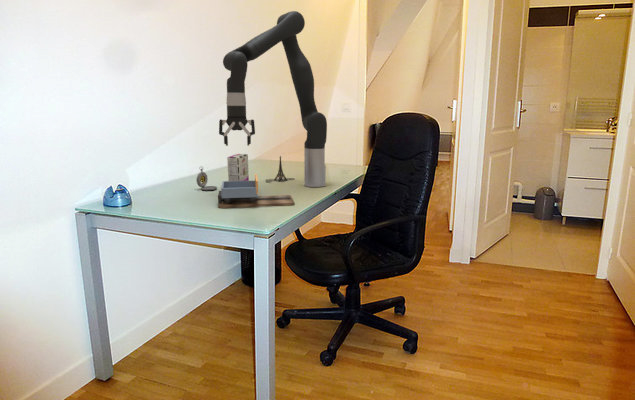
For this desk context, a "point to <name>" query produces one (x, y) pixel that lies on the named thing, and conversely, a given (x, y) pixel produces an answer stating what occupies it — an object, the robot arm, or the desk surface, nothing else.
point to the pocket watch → (204, 181)
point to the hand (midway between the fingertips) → (237, 145)
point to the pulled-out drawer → (239, 190)
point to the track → (256, 201)
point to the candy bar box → (238, 167)
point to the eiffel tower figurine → (279, 176)
